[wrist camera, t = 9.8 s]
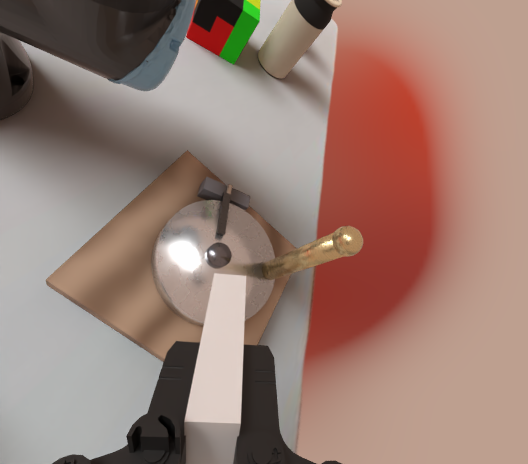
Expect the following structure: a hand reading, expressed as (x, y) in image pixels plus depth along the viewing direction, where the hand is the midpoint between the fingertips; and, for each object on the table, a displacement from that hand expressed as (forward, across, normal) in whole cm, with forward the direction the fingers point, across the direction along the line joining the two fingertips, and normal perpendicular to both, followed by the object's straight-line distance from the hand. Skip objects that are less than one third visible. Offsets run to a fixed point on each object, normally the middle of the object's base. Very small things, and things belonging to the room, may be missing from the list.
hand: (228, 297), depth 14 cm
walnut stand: (+23, -5, -15) cm, 27 cm away
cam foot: (+22, -2, -13) cm, 25 cm away
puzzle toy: (+60, -9, +16) cm, 62 cm away
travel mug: (+65, +4, +13) cm, 67 cm away
